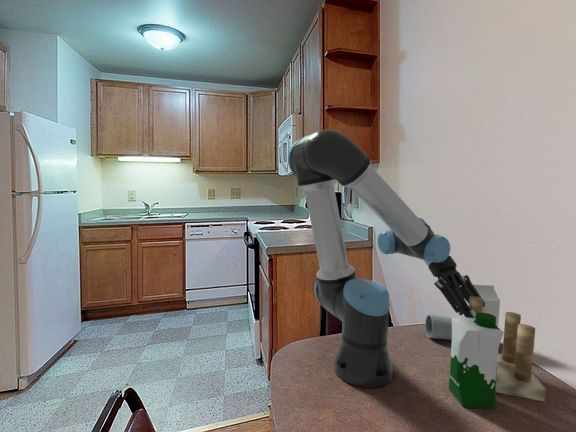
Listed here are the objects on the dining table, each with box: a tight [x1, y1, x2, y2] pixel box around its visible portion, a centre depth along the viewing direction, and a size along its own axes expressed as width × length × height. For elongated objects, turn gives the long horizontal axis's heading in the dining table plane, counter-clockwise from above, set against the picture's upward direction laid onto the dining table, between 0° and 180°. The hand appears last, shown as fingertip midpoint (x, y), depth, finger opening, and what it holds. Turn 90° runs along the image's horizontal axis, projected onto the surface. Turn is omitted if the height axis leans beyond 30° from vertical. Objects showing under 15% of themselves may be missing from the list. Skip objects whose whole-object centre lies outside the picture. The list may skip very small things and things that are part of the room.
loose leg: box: [469, 296, 484, 313], centre depth 89 cm, size 3×3×13 cm
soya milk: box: [448, 312, 504, 410], centre depth 74 cm, size 9×9×20 cm
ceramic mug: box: [425, 313, 453, 341], centre depth 108 cm, size 11×8×8 cm
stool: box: [496, 311, 547, 402], centre depth 83 cm, size 16×16×16 cm
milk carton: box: [463, 284, 501, 328], centre depth 104 cm, size 7×7×19 cm
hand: (488, 333), depth 86 cm, fingers closed on loose leg, 3 cm apart
